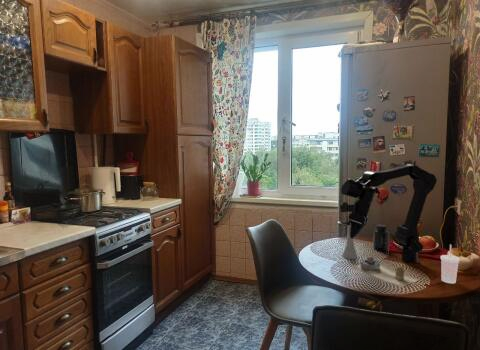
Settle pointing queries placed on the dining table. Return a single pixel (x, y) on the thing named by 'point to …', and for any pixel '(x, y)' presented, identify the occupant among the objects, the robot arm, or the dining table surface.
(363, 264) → the steel ring
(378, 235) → the supplement bottle
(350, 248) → the flask
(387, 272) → the base board
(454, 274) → the beverage cup
